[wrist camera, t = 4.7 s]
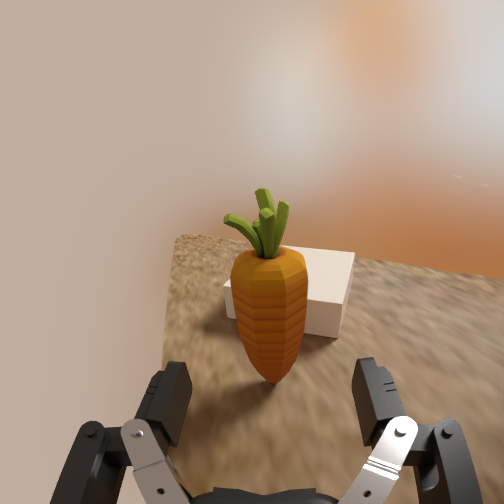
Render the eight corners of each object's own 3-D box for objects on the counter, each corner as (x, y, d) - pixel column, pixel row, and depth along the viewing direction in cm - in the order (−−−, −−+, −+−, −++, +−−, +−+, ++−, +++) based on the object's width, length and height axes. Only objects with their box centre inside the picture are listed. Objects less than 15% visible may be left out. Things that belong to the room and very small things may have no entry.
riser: (352, 280, 35) (354, 252, 34) (338, 338, 25) (342, 304, 24) (267, 270, 40) (266, 244, 39) (227, 317, 30) (222, 285, 29)
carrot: (290, 412, 18) (292, 204, 12) (232, 393, 20) (201, 200, 15) (312, 369, 22) (319, 186, 16) (259, 355, 24) (246, 183, 19)
